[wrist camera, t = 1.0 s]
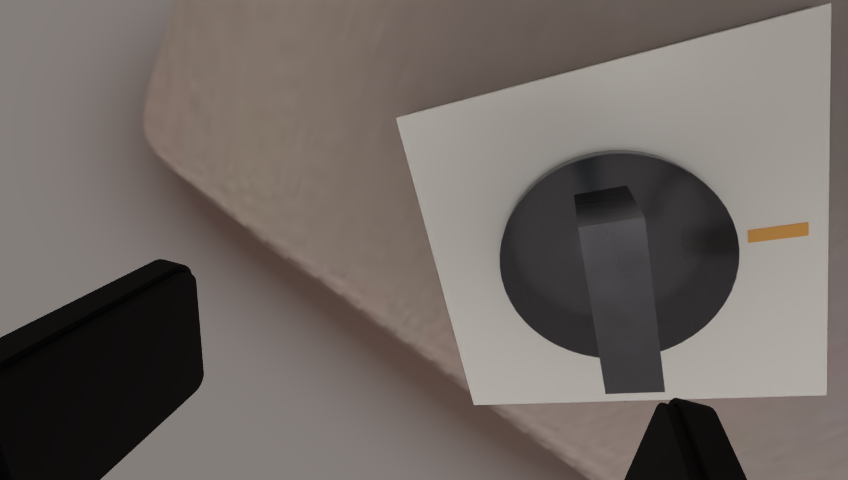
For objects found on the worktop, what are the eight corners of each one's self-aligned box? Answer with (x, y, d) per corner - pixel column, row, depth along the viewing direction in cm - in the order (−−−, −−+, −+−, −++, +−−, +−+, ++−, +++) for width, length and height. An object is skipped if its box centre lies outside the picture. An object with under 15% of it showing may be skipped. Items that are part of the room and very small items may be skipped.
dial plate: (811, 7, 24) (832, 2, 22) (811, 375, 31) (827, 396, 30) (404, 114, 32) (395, 118, 30) (477, 389, 39) (473, 406, 38)
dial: (482, 174, 30) (461, 208, 23) (723, 126, 26) (784, 150, 19) (522, 351, 34) (514, 424, 28) (735, 337, 30) (789, 420, 23)
